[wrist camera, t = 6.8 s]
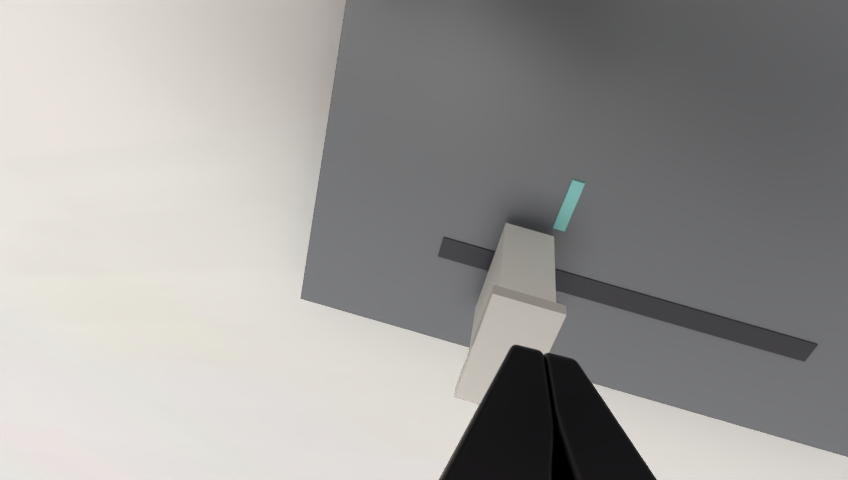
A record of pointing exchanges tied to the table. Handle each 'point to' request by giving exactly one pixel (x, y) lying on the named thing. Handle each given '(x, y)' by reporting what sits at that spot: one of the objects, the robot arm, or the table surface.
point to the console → (607, 188)
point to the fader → (512, 308)
